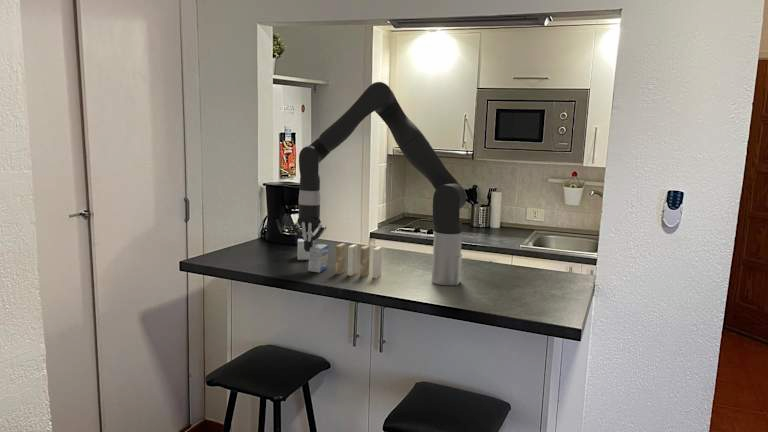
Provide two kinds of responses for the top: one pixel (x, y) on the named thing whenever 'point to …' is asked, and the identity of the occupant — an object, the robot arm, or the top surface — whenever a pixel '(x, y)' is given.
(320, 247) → the medicine box
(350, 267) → the domino
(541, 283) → the top surface
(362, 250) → the domino
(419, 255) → the top surface
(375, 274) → the domino
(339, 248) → the domino
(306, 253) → the skincare box
